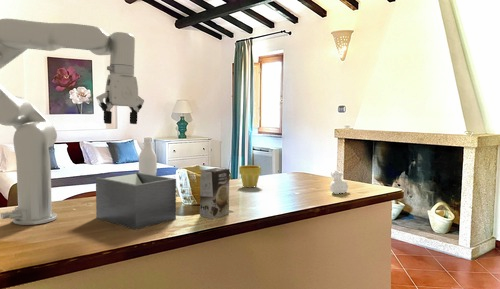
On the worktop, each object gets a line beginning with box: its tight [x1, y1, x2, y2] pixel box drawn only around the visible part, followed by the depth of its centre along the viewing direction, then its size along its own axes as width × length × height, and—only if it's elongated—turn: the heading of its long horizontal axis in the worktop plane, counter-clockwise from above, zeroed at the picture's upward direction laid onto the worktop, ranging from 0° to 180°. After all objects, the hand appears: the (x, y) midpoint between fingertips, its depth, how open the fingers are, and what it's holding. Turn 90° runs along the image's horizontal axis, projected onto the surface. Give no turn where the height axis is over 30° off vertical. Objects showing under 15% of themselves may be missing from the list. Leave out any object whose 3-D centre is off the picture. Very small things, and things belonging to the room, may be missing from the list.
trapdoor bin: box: [95, 171, 177, 231], centre depth 130 cm, size 16×21×14 cm
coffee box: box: [199, 167, 231, 220], centre depth 136 cm, size 9×6×16 cm
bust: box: [329, 170, 349, 195], centre depth 179 cm, size 12×8×11 cm
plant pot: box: [238, 164, 262, 188], centre depth 189 cm, size 10×10×10 cm
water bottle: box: [137, 137, 158, 176], centre depth 157 cm, size 7×7×25 cm
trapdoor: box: [105, 173, 142, 185], centre depth 132 cm, size 13×14×1 cm
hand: (120, 123), depth 130 cm, fingers open, 9 cm apart
